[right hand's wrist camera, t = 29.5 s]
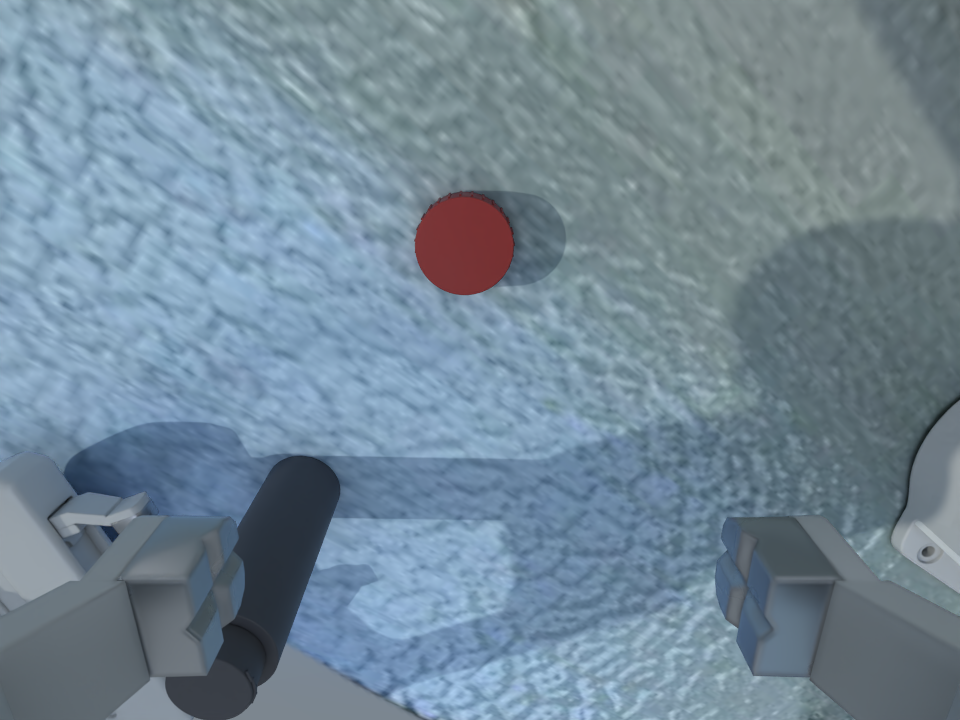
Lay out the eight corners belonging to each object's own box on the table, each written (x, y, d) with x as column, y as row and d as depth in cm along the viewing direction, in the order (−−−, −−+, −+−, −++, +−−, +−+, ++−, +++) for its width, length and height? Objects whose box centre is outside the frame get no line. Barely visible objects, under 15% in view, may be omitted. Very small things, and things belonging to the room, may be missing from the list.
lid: (469, 169, 34) (469, 172, 32) (532, 244, 36) (535, 252, 34) (397, 234, 35) (392, 242, 33) (461, 304, 37) (460, 315, 35)
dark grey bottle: (287, 526, 43) (186, 741, 28) (254, 468, 41) (129, 665, 26) (351, 505, 42) (283, 714, 27) (321, 446, 40) (231, 635, 26)
